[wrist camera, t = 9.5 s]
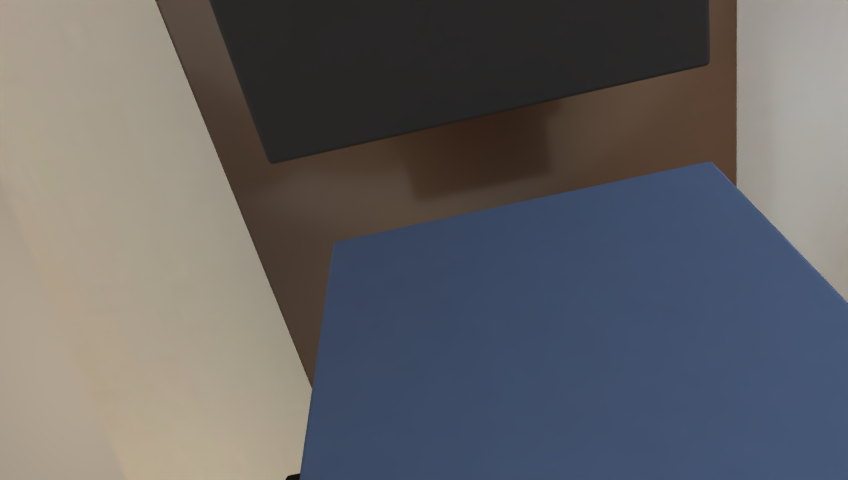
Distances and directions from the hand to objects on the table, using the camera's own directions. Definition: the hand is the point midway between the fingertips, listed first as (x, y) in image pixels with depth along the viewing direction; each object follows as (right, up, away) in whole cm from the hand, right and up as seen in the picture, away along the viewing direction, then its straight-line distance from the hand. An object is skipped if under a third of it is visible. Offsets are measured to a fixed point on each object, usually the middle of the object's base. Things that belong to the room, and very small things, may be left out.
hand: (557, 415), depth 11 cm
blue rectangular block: (0, 0, 0) cm, 0 cm away
